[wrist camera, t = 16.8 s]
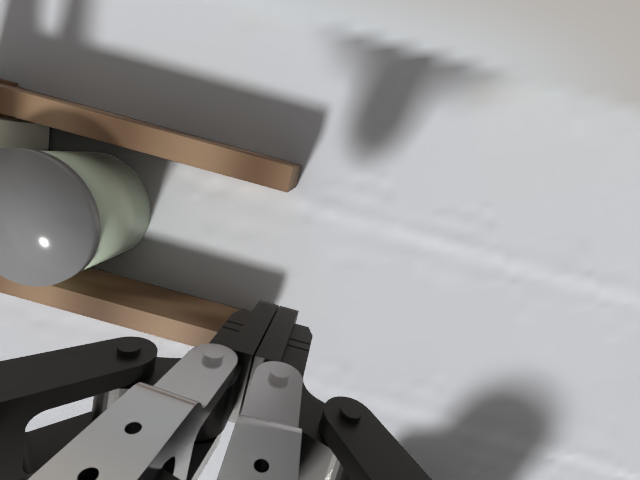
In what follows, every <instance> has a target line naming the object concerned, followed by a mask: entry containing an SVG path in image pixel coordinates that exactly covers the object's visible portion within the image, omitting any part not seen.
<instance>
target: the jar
mask: <svg viewBox="0 0 640 480" xmlns="http://www.w3.org/2000/svg"><path fill="white" fill-rule="evenodd" d="M150 213H151V211H150V201H149V197H148V194H147V191H146V189H145V186H144V184H143V183H142V181H141V179H140V178H139V177H138V175H137V174H136V173H135V172H134V171H133V170H132V168H131V167H129V166H128V165H127V164H126V163H124V162H123V161H121V160H120V159H118V158H116V157H114V156H112V155H109V154H106V153H101V152H80V151H40V150H35V149H28V148H0V275H1V276H2V277H4V278H6V279H8V280H10V281H13V282H16V283H19V284H23V285H27V286H36V287H39V286H49V285H54V284H57V283H60V282H62V281H65V280H67V279H69V278H71V277H73V276H75V275H77V274H78V273H80V272H81V271H83V270H84V269H87V268H89V267H91V266H94V265H96V264H98V263H101V262H103V261H105V260H108V259H110V258H112V257H114V256H117V255H119V254H121V253H124V252H126V251H128V250H130V249H131V248H133V247H134V246H136V245H137V244H138V243H139V242H140V241H141V239H142V238H143V237H144V235H145V233H146V231H147V228H148V226H149V221H150Z"/></svg>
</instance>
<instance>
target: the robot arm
mask: <svg viewBox="0 0 640 480" xmlns="http://www.w3.org/2000/svg"><path fill="white" fill-rule="evenodd" d="M278 308H279V309H278ZM298 312H299V311H297V310H293V309H290V308H286V307H282V306H280V307H279V305H275V304H271V303H268V302H264V301H261V300H260V301H259V302H258V304H257V305H256V307H255V309H254V310H253V312H252V311H248V310H245V309H241V310H239V311H237V312H234V313H232V315H231V316H230V317H229V318H228V320H227V322H225V323H224V325H223V326H222V327H221V328H220V330H219V331H218V332H217V334H216V335H215V336H214V337H213V339H212V340H211V341H210V342H209V344H201V345H198V346H196V347H194V348H192V349H191V350H190V351H189V352H188V353H187V354H186V355H185V356H184V357H183V358H163V357H157V347H156V345H155V344H154V343H153V342H151V341H149V340H147V339H144V338H140V337H121V338H116V339H111V340H106V341H101V342H96V343H90V344H85V345H80V346H75V347H70V348H65V349H60V350H55V351H50V352H45V353H40V354H35V355H30V356H25V357H20V358H15V359H10V360H5V361H0V480H197V479H198V478H199V476H200V474H201V473H202V471H203V469H204V467H205V466H206V464H207V462H208V461H209V459H210V457H211V455H212V454H213V452H214V450H215V448H216V447H217V445H218V443H219V440H220V436H221V432H222V431H223V429H224V428H225V426H226V424H227V421H231V422H234V423H236V424H235V427H234V430H233V433H232V436H231V439H230V442H229V445H228V448H227V451H226V454H225V457H224V460H223V463H222V465H221V468H220V471H219V474H218V477H217V480H431V478H430V477H429V476H428V475H427V474H426V473H425V472H424V471H423V470H422V468H421V467H420V466H419V465H418V464H417V463H416V462H415V461H414V459H413V458H412V457H411V456H410V455H409V454H408V453H407V452H406V450H405V449H404V448H403V447H402V446H401V445H400V444H399V443H398V441H397V440H396V439H395V438H394V437H393V436H392V435H391V434H390V433H389V431H388V430H387V429H386V428H385V427H384V426H383V425H382V424H381V422H380V421H379V420H378V419H377V418H376V417H375V416H374V415H373V413H372V412H371V411H370V410H369V409H368V408H367V407H366V406H365V405H363V404H362V403H360V402H359V401H357V400H354V399H352V398H348V397H334V398H331V399H329V400H328V401H327V402H326V403H324V402H322V401H320V400H318V399H317V398H315V397H314V396H313V395H311V394H310V393H309V392H308V390H307V389H306V387H305V386H304V383H303V375H304V371H305V366H306V362H307V358H308V353H309V349H310V344H311V340H312V334H311V332H310V330H309V327H305V326H302V325H298V324H296V320H297V316H298ZM92 396H94V399H93V408H92V411H91V412H88V413H85V414H82V415H79V416H76V417H73V418H70V419H67V420H63V421H60V422H57V423H54V424H51V425H48V426H45V427H42V428H39V429H36V430H33V431H29V432H25V428H26V426H27V424H28V422H29V421H30V420H31V419H32V418H33V417H34V416H36V415H37V414H39V413H40V412H43V411H45V410H48V409H51V408H55V407H58V406H61V405H65V404H68V403H71V402H75V401H78V400H82V399H85V398H88V397H92Z"/></svg>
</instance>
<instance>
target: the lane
mask: <svg viewBox="0 0 640 480" xmlns="http://www.w3.org/2000/svg"><path fill="white" fill-rule="evenodd" d="M17 85H18V83H15V82H11V81H7V80H4V79H0V117H7V118H19V119H23V120H27V121H30V122H34V123H38V124H41V125H45V126H48V127H52V128H56V129H59V130H63V131H67V132H70V133H74V134H77V135H81V136H85V137H88V138H92V139H96V140H99V141H103V142H106V143H110V144H114V145H117V146H121V147H125V148H128V149H132V150H135V151H139V152H143V153H146V154H150V155H154V156H157V157H161V158H164V159H168V160H172V161H175V162H179V163H183V164H186V165H190V166H193V167H197V168H201V169H204V170H208V171H212V172H215V173H219V174H222V175H226V176H230V177H233V178H237V179H241V180H244V181H248V182H251V183H255V184H259V185H262V186H266V187H270V188H273V189H277V190H280V191H284V192H289V191H290V190H292V189H294V188H295V187H296V185H297V181H298V177H299V173H300V169H301V165H298V164H295V163H291V162H288V161H284V160H280V159H277V158H273V157H269V156H266V155H262V154H258V153H255V152H251V151H248V150H244V149H240V148H237V147H233V146H229V145H226V144H222V143H218V142H215V141H211V140H208V139H204V138H200V137H197V136H193V135H189V134H186V133H182V132H179V131H175V130H171V129H168V128H164V127H160V126H157V125H153V124H149V123H146V122H142V121H139V120H135V119H131V118H128V117H124V116H120V115H117V114H113V113H110V112H106V111H102V110H99V109H95V108H91V107H88V106H84V105H80V104H77V103H73V102H70V101H66V100H62V99H59V98H55V97H51V96H48V95H44V94H40V93H37V92H33V91H30V90H26V89H22V88H19V87H17ZM0 292H1V293H5V294H8V295H12V296H15V297H19V298H22V299H26V300H30V301H33V302H37V303H40V304H44V305H47V306H51V307H55V308H58V309H62V310H65V311H69V312H73V313H76V314H80V315H83V316H87V317H90V318H94V319H98V320H101V321H105V322H108V323H112V324H115V325H119V326H123V327H126V328H130V329H133V330H137V331H141V332H144V333H148V334H151V335H155V336H158V337H162V338H166V339H169V340H173V341H176V342H180V343H183V344H187V345H191V346H194V347H196V346H198V345H201V344H209V342H210V341H211V340H212V339H213V337H214V336H215V335H216V334H217V332H218V331H219V330H220V328H221V327H222V326H223V325H224V323H225V322H227V320H228V318H229V317H230V316H231V315H232V313H234V312H237V311H239V310H241V309H237V308H234V307H230V306H226V305H223V304H219V303H216V302H212V301H208V300H205V299H201V298H198V297H194V296H190V295H187V294H183V293H180V292H176V291H173V290H169V289H165V288H162V287H158V286H155V285H151V284H147V283H144V282H140V281H137V280H133V279H129V278H126V277H122V276H119V275H115V274H111V273H108V272H104V271H101V270H97V269H94V268H90V267H89V268H87V269H84V270H83V271H81V272H80V273H78V274H77V275H75V276H73V277H71V278H69V279H67V280H65V281H62V282H60V283H57V284H54V285H49V286H39V287H36V286H27V285H23V284H19V283H16V282H13V281H10V280H8V279H6V278H4V277H2V276H1V275H0Z"/></svg>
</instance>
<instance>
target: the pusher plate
mask: <svg viewBox="0 0 640 480" xmlns="http://www.w3.org/2000/svg"><path fill="white" fill-rule="evenodd" d="M49 133H50V127H48V126H45V125H41V124H38V123H34V122H30V121H27V120H23V119H16V118H7V117H0V148H28V149H35V150H40V151H48V147H49Z"/></svg>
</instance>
